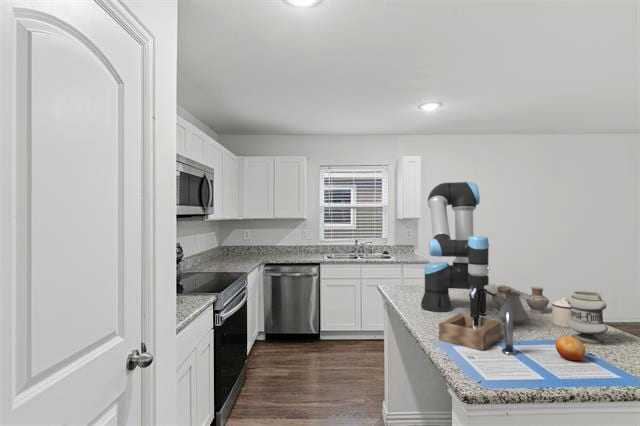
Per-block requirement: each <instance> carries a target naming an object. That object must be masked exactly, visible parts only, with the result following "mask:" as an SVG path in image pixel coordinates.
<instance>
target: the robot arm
mask: <svg viewBox="0 0 640 426" xmlns="http://www.w3.org/2000/svg"><path fill="white" fill-rule="evenodd" d="M480 199H481V198H480V190H479V187H478V185H477V184H476V183H475V182H471V181H470V182H469V181H460V182H442V183H439V184H437V185H436V186H435V187H434V188H432V189H431V191H430V193H429V195H428V197H427V205H428V208H429V209H430V221H431V231H432V232H431V233H432V239H429V240H428V252H429V255H430V256H431V257H437V258H438V257H439V258H441V257H453V258H454V257H455V258H454V259H453V260H452V264H449V262H447V261H435V262H434V261H433V262H429V263H427V264H425V265H424V273H423V274H424V293H423V295H422V296H423V297H422V299H421V302H420V305H421V306H420V307H421V309H423V310H426V311H430V312H435V313H436V312H437V313H442V312H443V313H444V312H445V313H446V312H451V311H453V303H452V300H451V297H450V294H449V289H456V290H457V289H458V290H459V289H460V290H471V292H469V293H468V294H469V295H468V296H469V307H470V309H469V310H470V313H469V314H470V317H473V329H479V328H480V327H481V318H485V317H486V316H487V314H486V312H487V291H488V289H487V288H485V286H486V287H487V286H488V285H489V283H490V282H489V280H490V279H489V270H490V267H489V252H490V251H489V247H490V244H489V237H487V236H481V235H474V211H475V210H476V209H477V205H479V204H480ZM448 206H451V210H453V212H454V229H455V231H454V236H455V237H454V238H455V239H452V238H451V233H450V225H449V219H448V210H447V207H448ZM480 317H481V318H480Z"/></svg>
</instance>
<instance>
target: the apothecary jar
mask: <svg viewBox="0 0 640 426" xmlns="http://www.w3.org/2000/svg"><path fill="white" fill-rule="evenodd" d="M567 302H568V304H569V305H570V306H571V318H570V319H569V320H568V326H569V327H570V328H569V329H571V330H573V331H575V332H577V333H576V334H572V335H571V336H572V337H574V338H576V339H578V340H580V341H581V342H582V343H583V344H585V345H590V346H591V345H592V346H601V345H604V340H603V339H601V338H599V337H597V336H601V335H603V334H605V333H606V332H607V331H608V329H609V328H608V325H607V324H606V322H604V318H603V317H604V316H603V311H604V310H605V309H606V308H607V303H606V301H604V300H603V299H602V297H601V294H600V293H599V292H594V291H590V290H589V291H587V290H574V291H572V295H571V296H570V297H569V298H567Z"/></svg>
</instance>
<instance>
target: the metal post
mask: <svg viewBox="0 0 640 426" xmlns="http://www.w3.org/2000/svg"><path fill="white" fill-rule="evenodd" d="M501 353H503V354H505V355H508V356H517V351H516V350H514V325H513V312H511V311H505V322H504V348H502V349H501Z"/></svg>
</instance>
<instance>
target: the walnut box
mask: <svg viewBox="0 0 640 426" xmlns="http://www.w3.org/2000/svg"><path fill="white" fill-rule="evenodd" d="M470 316H471V314H470V315H469V314H464V313H458V314H456V315H454V316H451V317H450V318H447V319H446V320H444V321H442V322H439V323H438V340H440V341H443V342H446V343H452V344H455V345H459V346H463V347H467V348H471V349H474V350H478V351H481V352H483V351H485V350H486V349H487V348H488V347H490V346H491V345H493V344H494V343H495V342H496V341H497V340H499V339H500V338H501V337H502V335H501V334H502V325H501V324H502V323H501V322H502V321H501V320H496V319H492V318H491V319H490V318H486V317H484V318H481V317H480V318H481V327H480V328H479V329H473V317H470Z"/></svg>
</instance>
